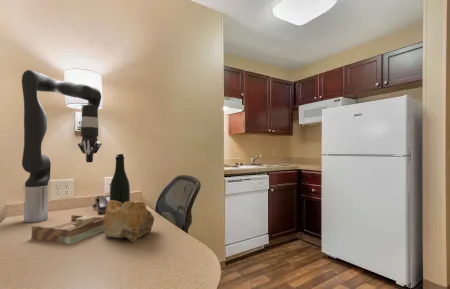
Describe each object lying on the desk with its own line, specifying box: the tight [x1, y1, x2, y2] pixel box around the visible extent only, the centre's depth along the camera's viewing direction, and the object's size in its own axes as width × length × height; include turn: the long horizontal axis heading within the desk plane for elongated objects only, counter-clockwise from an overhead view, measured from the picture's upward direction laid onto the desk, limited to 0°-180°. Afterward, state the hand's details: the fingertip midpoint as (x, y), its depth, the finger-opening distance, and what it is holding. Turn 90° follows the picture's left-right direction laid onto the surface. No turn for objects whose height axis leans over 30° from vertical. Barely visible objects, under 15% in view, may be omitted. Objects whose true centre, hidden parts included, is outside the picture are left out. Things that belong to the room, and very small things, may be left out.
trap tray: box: [31, 214, 104, 245], centre depth 100 cm, size 20×18×5 cm
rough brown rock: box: [103, 200, 155, 243], centre depth 97 cm, size 23×17×15 cm
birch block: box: [76, 215, 95, 227], centre depth 98 cm, size 4×4×4 cm
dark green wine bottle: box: [108, 153, 131, 204], centre depth 131 cm, size 10×10×33 cm
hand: (89, 162), depth 117 cm, fingers closed
